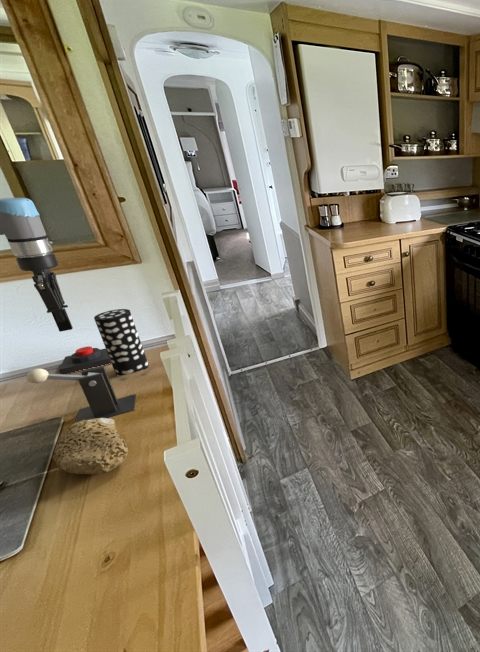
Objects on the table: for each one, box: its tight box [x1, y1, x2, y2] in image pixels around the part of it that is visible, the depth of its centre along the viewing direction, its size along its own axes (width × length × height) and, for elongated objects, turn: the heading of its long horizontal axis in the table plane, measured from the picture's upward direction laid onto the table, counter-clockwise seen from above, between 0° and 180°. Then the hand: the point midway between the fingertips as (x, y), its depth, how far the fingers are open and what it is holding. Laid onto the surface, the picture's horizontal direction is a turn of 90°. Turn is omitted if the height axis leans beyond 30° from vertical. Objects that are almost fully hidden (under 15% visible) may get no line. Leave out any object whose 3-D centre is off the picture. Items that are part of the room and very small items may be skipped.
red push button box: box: [58, 347, 111, 375], centre depth 126 cm, size 12×10×4 cm
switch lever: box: [26, 368, 103, 384], centre depth 95 cm, size 13×4×4 cm, turn 126°
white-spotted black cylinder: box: [93, 308, 150, 377], centre depth 119 cm, size 8×8×20 cm
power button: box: [74, 345, 94, 356], centre depth 125 cm, size 4×4×2 cm
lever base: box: [74, 366, 137, 423], centre depth 100 cm, size 12×9×13 cm
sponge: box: [51, 418, 129, 475], centre depth 86 cm, size 13×8×20 cm
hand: (66, 329), depth 115 cm, fingers closed
